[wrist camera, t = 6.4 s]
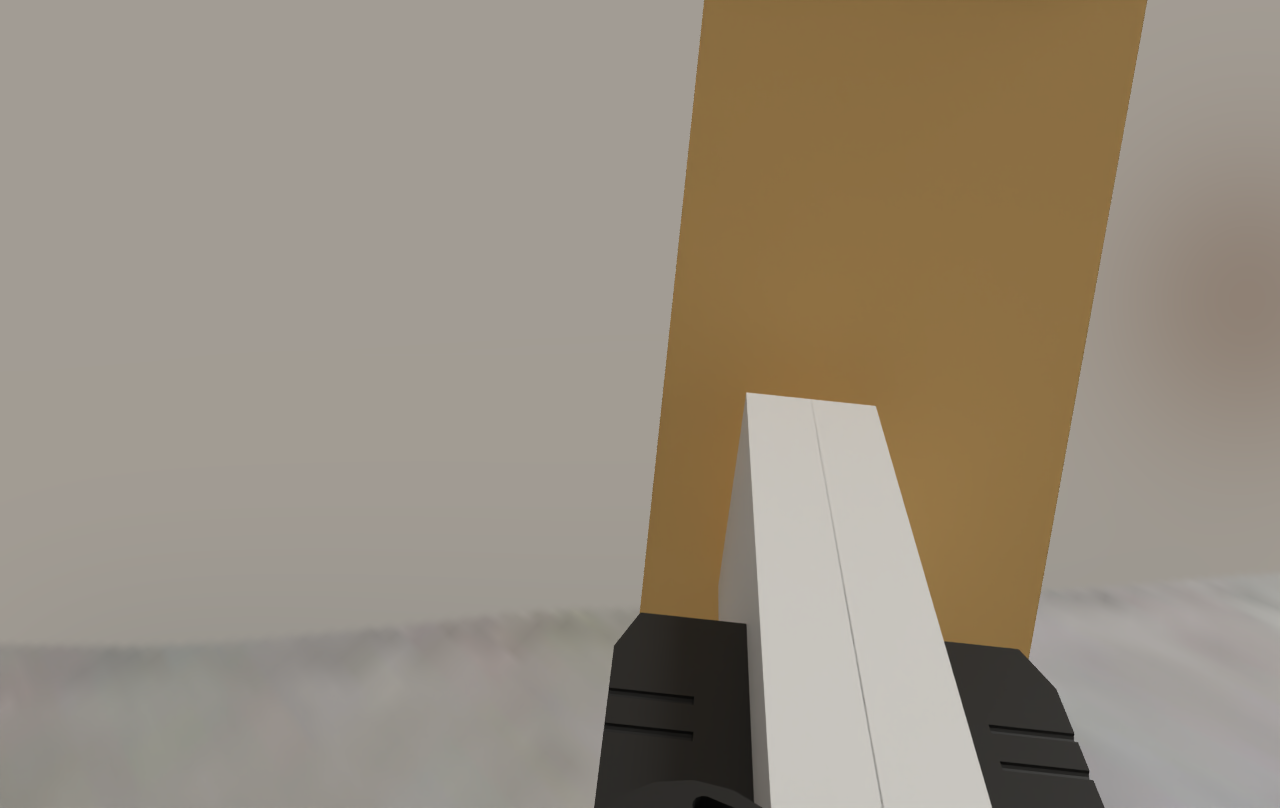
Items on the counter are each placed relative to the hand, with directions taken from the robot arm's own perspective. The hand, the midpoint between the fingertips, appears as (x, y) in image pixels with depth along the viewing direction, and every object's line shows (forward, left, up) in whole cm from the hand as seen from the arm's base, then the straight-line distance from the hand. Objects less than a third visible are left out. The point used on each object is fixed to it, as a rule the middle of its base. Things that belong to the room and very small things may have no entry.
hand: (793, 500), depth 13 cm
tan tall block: (-1, +2, -11) cm, 11 cm away
